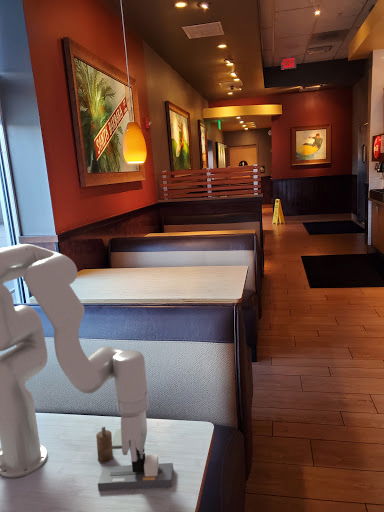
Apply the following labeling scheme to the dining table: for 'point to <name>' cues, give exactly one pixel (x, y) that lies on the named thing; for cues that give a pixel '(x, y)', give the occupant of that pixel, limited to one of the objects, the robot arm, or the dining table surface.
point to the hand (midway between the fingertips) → (139, 469)
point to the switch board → (134, 478)
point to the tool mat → (117, 439)
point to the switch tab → (151, 465)
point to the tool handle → (104, 446)
